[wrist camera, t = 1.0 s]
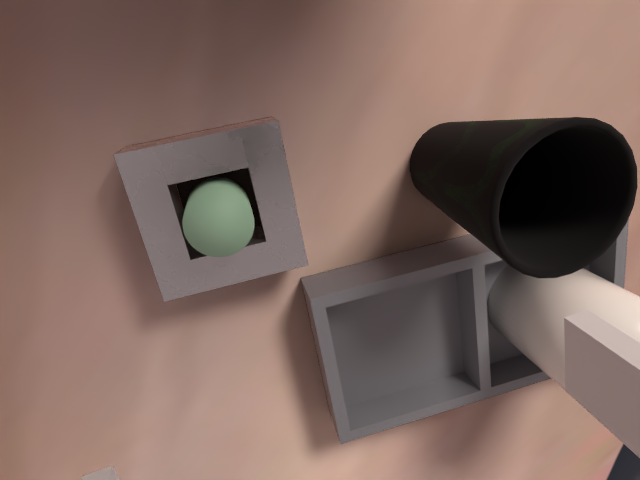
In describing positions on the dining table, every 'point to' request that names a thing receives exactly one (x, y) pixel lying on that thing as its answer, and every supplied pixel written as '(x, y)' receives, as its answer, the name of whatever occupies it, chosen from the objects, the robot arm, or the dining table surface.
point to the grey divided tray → (419, 333)
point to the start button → (218, 217)
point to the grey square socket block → (201, 161)
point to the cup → (531, 187)
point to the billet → (555, 312)
